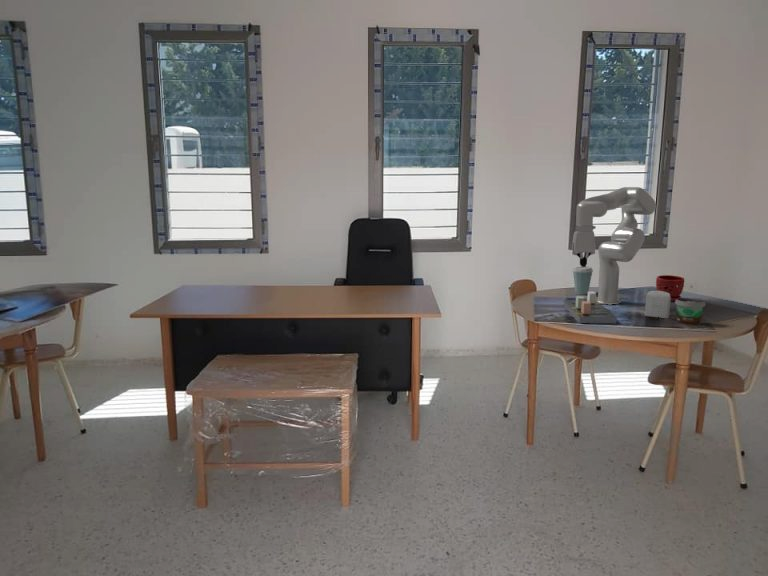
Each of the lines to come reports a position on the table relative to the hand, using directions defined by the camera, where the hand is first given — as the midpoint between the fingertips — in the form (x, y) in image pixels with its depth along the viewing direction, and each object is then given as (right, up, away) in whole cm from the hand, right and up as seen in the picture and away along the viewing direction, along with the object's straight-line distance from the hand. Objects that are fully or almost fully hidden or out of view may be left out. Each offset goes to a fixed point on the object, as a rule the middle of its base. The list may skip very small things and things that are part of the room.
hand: (583, 266), depth 279 cm
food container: (+38, -26, -25) cm, 53 cm away
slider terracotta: (-5, -22, -17) cm, 29 cm away
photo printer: (+30, -24, -13) cm, 41 cm away
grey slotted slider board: (0, -23, -6) cm, 24 cm away
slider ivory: (+5, -18, +3) cm, 19 cm away
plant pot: (+52, -17, +21) cm, 59 cm away
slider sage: (-4, -20, -7) cm, 22 cm away
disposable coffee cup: (+13, -14, +40) cm, 44 cm away
